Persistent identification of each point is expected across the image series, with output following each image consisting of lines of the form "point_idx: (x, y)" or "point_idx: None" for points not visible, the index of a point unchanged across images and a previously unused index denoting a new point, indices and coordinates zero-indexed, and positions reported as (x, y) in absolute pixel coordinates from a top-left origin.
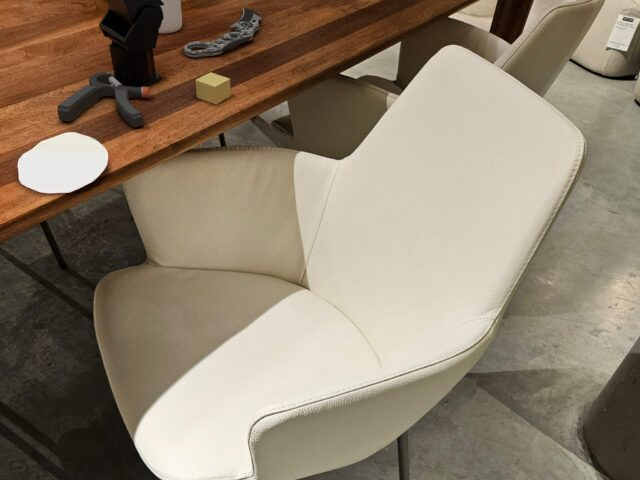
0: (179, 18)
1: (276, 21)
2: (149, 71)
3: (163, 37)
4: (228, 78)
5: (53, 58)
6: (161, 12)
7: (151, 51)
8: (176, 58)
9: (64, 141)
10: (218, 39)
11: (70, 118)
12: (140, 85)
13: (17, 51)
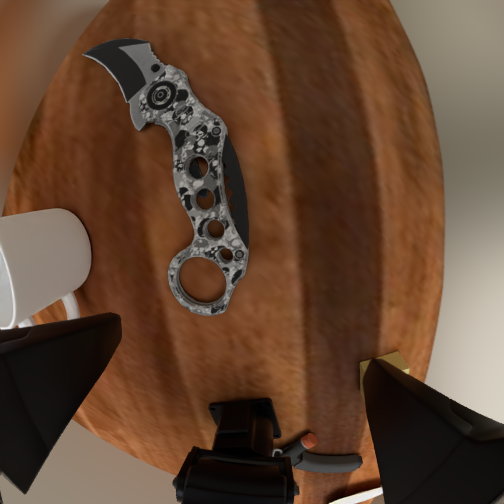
0: (74, 233)
1: (165, 19)
2: (269, 426)
3: (102, 280)
4: (407, 370)
5: (127, 429)
6: (286, 489)
7: (253, 432)
8: (203, 330)
9: (342, 500)
10: (194, 216)
11: (298, 487)
12: (277, 431)
13: (99, 431)
